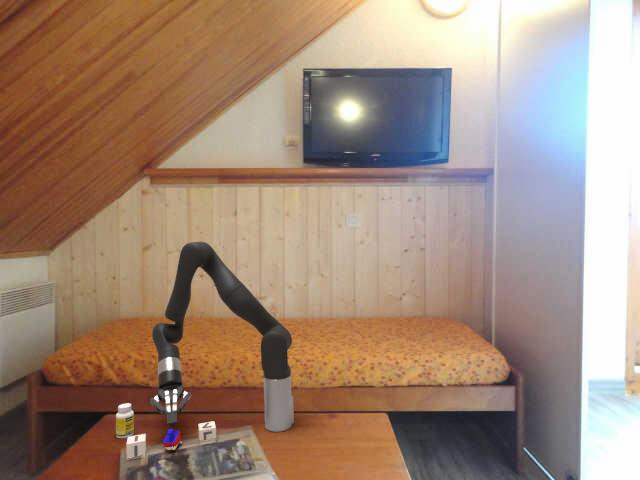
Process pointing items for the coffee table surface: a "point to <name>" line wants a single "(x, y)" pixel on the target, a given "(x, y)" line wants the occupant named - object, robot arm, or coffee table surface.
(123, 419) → the supplement bottle
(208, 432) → the cream block marked 7
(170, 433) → the toy car
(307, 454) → the coffee table surface
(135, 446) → the cream block marked 1
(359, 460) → the coffee table surface
